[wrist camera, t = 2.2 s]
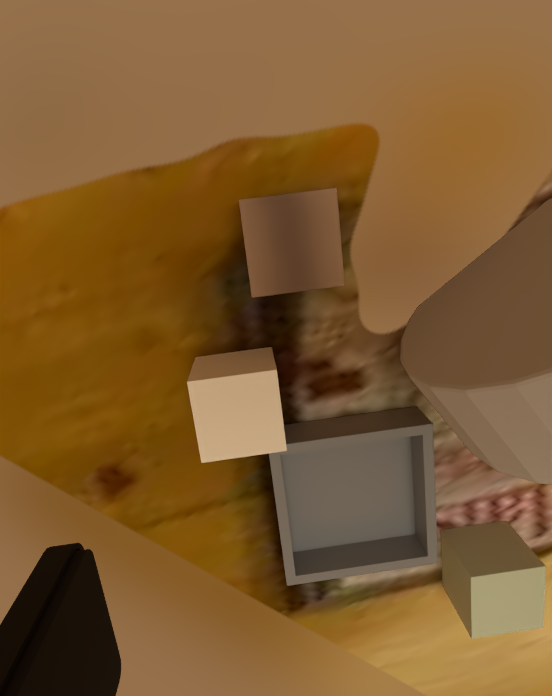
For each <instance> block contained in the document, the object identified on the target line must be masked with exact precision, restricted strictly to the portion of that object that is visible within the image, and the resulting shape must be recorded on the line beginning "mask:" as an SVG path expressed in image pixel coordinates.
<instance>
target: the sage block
mask: <svg viewBox="0 0 552 696" xmlns="http://www.w3.org/2000/svg"><path fill="white" fill-rule="evenodd" d="M441 554H442V584H443V587H444V589H445V591H446V593H447V594H448V596H449V598H450V600H451V602H452V604H453V605H454V607H455V609H456V611H457V613H458V615H459V616H460V618H461V620H462V622H463V624H464V626H465V627H466V629H467V631H468V633H469V635H470V637H471V638H472V639H474V638H481V637H487V636H494V635H500V634H507V633H513V632H519V631H526V630H532V629H539V628H544V603H545V573H546V566H545V565H544V564H543V562H542V561H541V560H540V559H539V558H538V557H537V556H536V554H535V553H534V552H533V551H532V550H531V549H530V548H529V546H528V545H527V544H526V543H525V542H524V541H523V540H522V538H521V537H520V536H519V535H518V534H517V533H516V532H515V530H514V529H513V528H512V527H511V526H510V525H509V524H508V522H507V521H499V522H492V523H486V524H479V525H472V526H465V527H459V528H452V529H445V530H441Z"/></svg>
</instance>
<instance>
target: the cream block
mask: <svg viewBox="0 0 552 696" xmlns="http://www.w3.org/2000/svg"><path fill="white" fill-rule="evenodd" d="M187 385H188V391H189V396H190V402H191V407H192V413H193V418H194V424H195V430H196V435H197V441H198V446H199V452H200V457H201V463H204V462H211V461H218V460H226V459H233V458H240V457H247V456H254V455H261V454H268V453H275V452H282V451H287V447H286V439H285V431H284V423H283V415H282V407H281V399H280V392H279V384H278V376H277V369H276V364H275V360H274V355H273V351H272V347H267V348H260V349H252V350H245V351H238V352H230V353H223V354H215V355H208V356H200V357H195V360H194V363H193V366H192V369H191V372H190V374H189V377H188V380H187Z"/></svg>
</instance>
